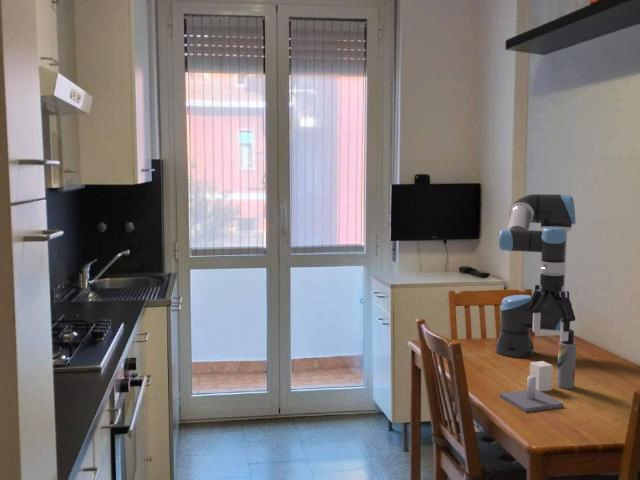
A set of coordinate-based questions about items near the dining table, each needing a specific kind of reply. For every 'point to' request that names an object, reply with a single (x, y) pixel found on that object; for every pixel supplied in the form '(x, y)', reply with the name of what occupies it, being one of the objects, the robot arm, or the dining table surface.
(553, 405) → the post board
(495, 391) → the dining table surface
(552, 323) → the robot arm
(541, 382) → the tall white block
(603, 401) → the dining table surface
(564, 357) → the lotion bottle
